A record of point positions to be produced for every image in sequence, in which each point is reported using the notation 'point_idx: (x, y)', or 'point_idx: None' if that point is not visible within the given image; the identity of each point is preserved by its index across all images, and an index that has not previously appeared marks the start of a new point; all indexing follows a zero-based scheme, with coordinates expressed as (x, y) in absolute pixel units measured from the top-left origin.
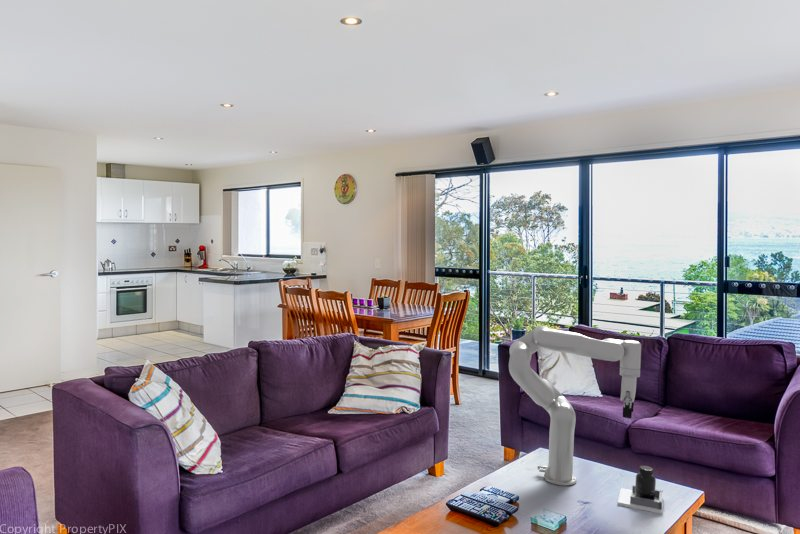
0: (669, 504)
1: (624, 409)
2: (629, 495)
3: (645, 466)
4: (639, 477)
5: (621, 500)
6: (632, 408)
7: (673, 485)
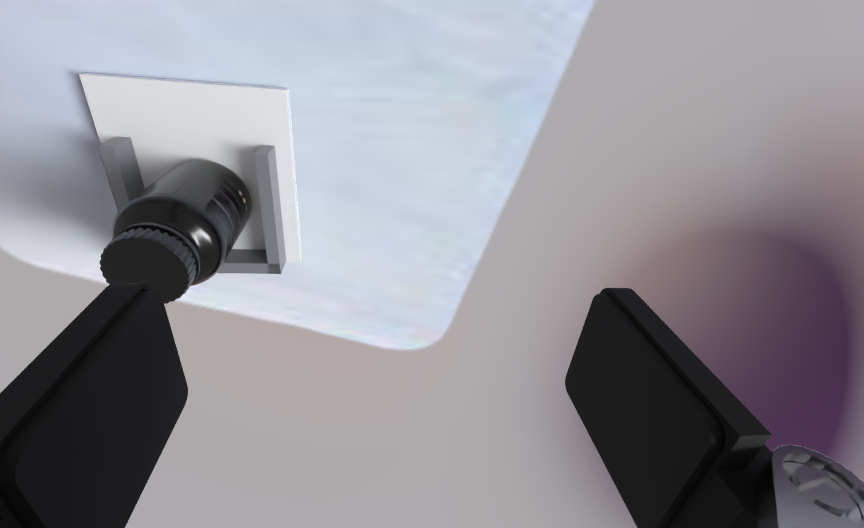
0: (259, 275)
1: (5, 442)
2: (214, 132)
3: (170, 268)
4: (118, 217)
5: (119, 94)
6: (590, 424)
7: (458, 287)
